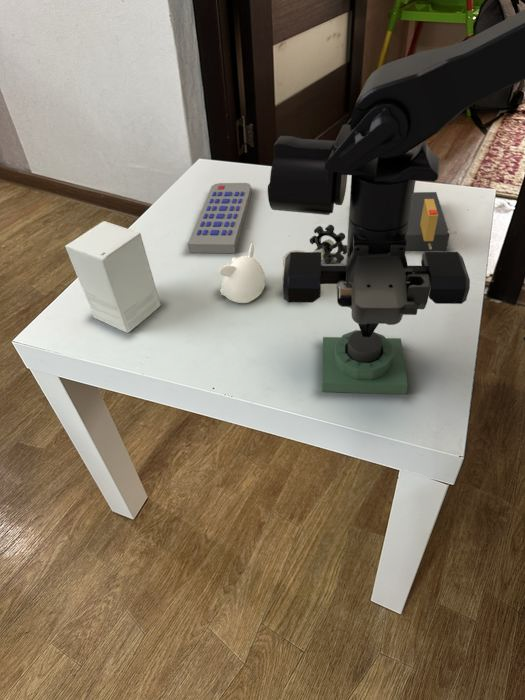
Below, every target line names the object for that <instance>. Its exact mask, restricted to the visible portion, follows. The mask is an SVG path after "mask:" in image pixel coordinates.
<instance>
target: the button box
mask: <svg viewBox="0 0 525 700" xmlns="http://www.w3.org/2000/svg"><path fill="white" fill-rule="evenodd" d="M357 331H361V330H360V329H359V330H358V329H356V330H352V331H350V332H347V333H345V334H342V335H341V336H340V337H339V336H323V337H322V355H321V356H322V358H321V359H322V360H321V361H322V363H321V367H322V368H321V375H322V376H321V392H322V393H352V394H353V393H354V394H386V395H387V394H389V395H406V394H407V391H408V386H409V384H408V377H407V370H406V362H405V356H404V349H403V342H402V338H401V337H397V338H396V337H386V336H385V335H383V334H380V333H379V332H378V333H377V332H375V331H374V333H376V334H377V335H378V336H379V337H380V338H381V340H382V347H381V354H380V357H379V358H378V359H377V360H376V361H374V362H371V363H359V362H357V361H355V360H353V359H351V358H350V356H349V355H348V352H347V349H348V339H349V337H350V335H351V334H353V333H354V332H357Z"/></svg>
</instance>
